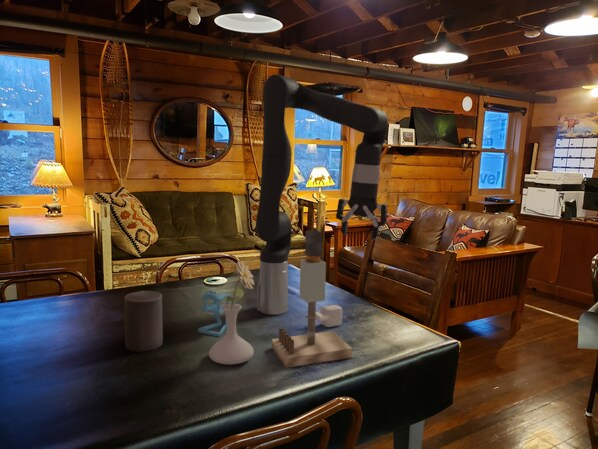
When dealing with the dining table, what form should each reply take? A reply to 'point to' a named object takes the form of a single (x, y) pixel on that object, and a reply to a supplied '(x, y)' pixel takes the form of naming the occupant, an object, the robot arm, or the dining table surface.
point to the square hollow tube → (312, 280)
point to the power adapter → (329, 316)
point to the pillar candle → (143, 321)
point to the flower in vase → (234, 326)
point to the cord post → (310, 327)
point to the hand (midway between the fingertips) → (358, 237)
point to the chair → (214, 312)
